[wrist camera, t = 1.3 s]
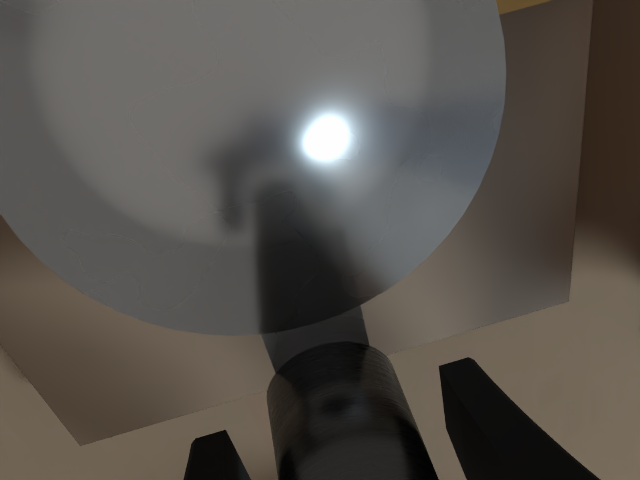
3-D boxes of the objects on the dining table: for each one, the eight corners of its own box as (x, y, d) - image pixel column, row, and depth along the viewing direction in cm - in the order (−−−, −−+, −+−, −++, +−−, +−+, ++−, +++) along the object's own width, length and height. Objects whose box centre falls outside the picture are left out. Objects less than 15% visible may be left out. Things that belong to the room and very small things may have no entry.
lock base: (573, -817, 8) (790, -1197, 5) (537, 264, 20) (596, 333, 17) (-591, -572, 7) (-1094, -851, 4) (89, 395, 19) (72, 490, 16)
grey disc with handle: (-112, -104, 8) (-546, -49, 3) (434, -241, 8) (759, -372, 4) (175, 402, 14) (170, 658, 10) (469, 315, 15) (598, 524, 10)
